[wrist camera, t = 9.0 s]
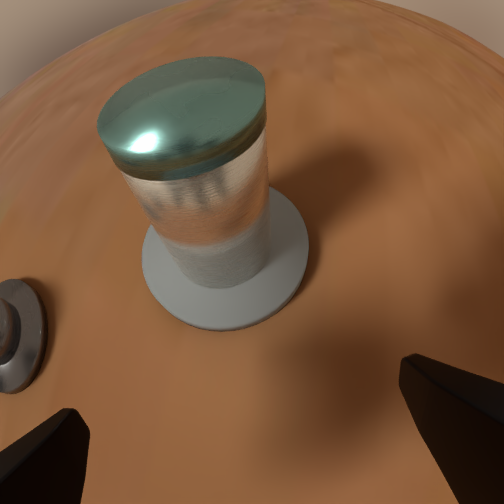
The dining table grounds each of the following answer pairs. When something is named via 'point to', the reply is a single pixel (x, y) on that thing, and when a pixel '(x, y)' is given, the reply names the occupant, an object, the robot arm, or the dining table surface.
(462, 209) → the dining table surface
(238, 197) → the drinking glass
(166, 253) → the coaster
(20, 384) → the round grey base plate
